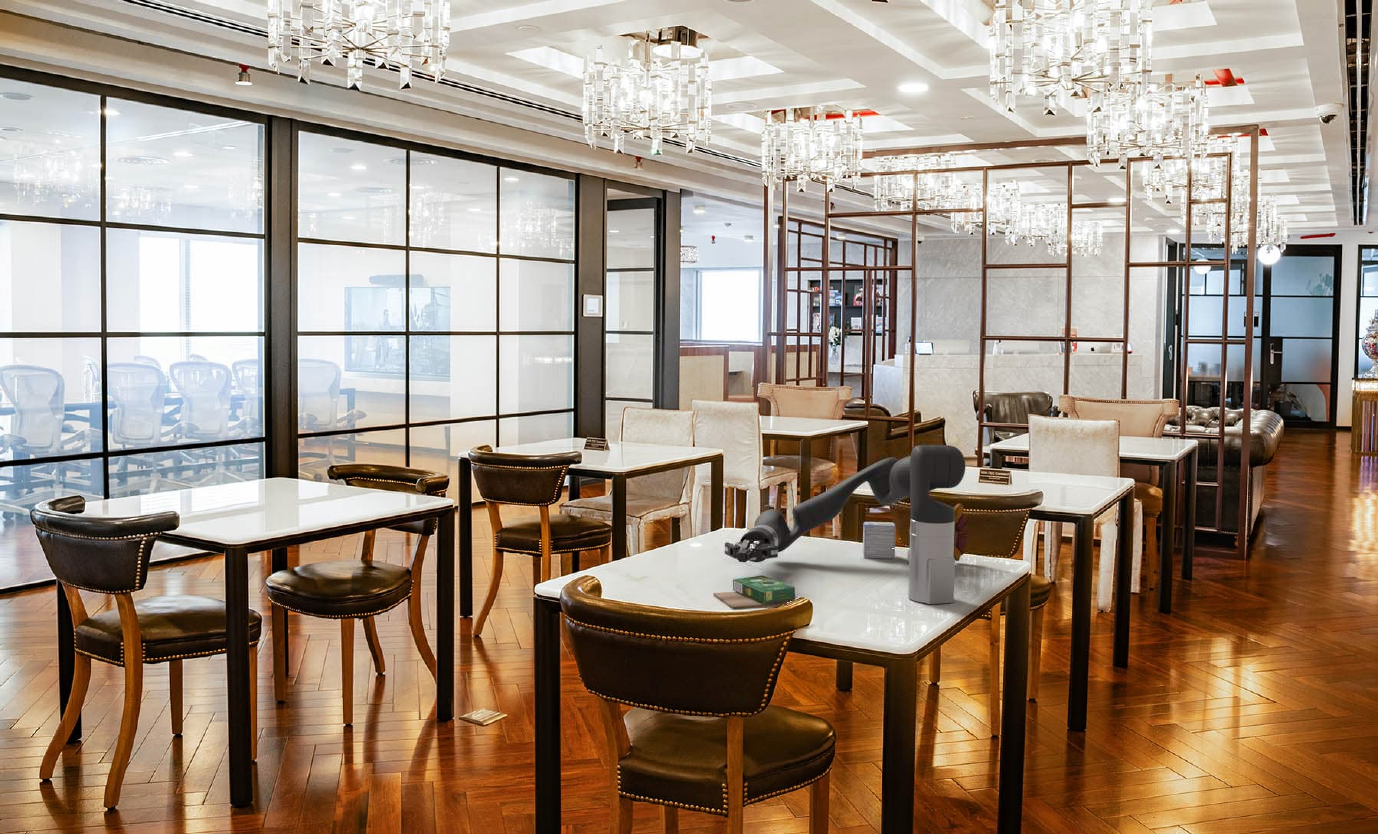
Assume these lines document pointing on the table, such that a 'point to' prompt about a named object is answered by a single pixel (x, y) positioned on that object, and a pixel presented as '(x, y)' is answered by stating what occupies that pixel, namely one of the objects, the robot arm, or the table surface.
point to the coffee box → (764, 589)
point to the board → (743, 601)
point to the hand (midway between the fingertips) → (741, 557)
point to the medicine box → (879, 540)
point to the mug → (957, 533)
